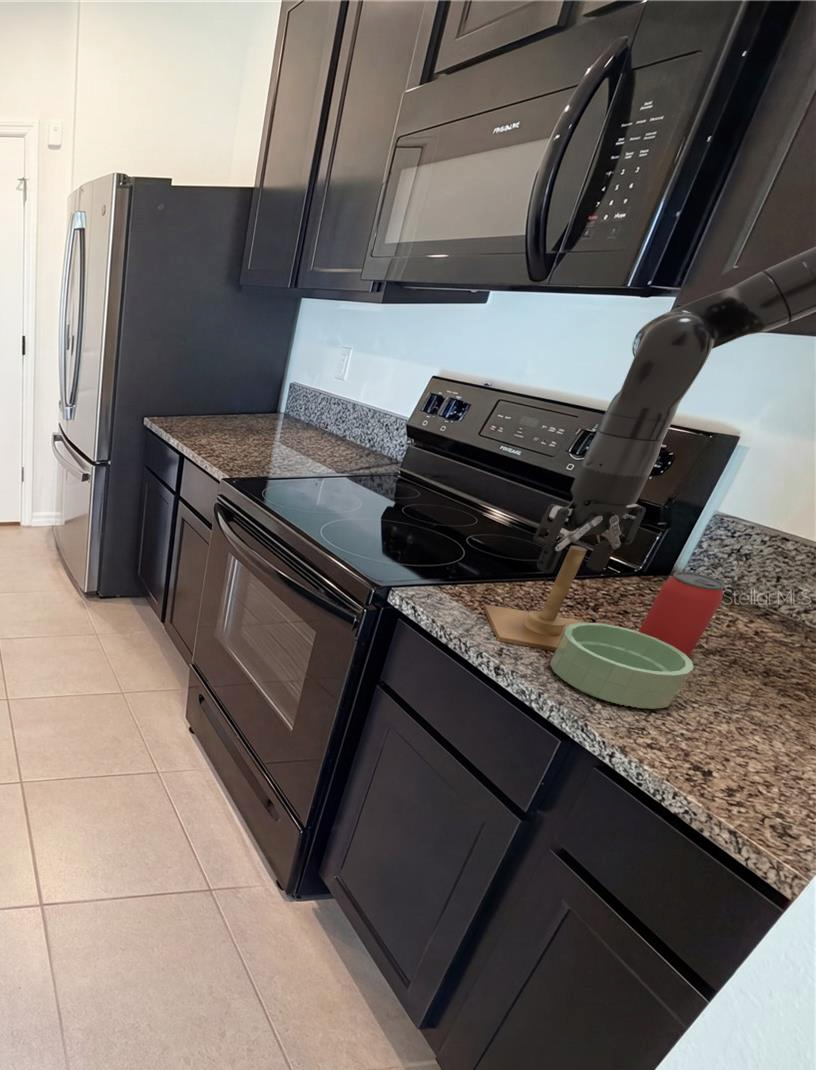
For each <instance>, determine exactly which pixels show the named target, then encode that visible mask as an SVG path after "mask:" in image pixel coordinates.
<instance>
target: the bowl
mask: <svg viewBox="0 0 816 1070" xmlns="http://www.w3.org/2000/svg"><path fill="white" fill-rule="evenodd" d="M638 631H639V630H638ZM638 631H637V630H634V629H630V628H626V627H622V626H619V625H613V624H606V623H600V622H588V621H587V622H585V621H584V622H583V623H575V624H571V625H569V626H567V627H566V628H565V630H564V632H563V634H562V636H561V639H560V641H559V643H558V645H557V647H556V649H555V651H553V653H552V656H551V658H550V662H549V665H550V668H551V670H552V671H553V673H555V675H557V676H558V677H559V678H560V679H561V680H562V681H564V682H566V683H567V684H568V685H569V686H572V687H573V688H574V689H576V690H578V691H580V692H582V693H584V694H586V695H589V696H591V697H593V698H595V697H596V698H595V699H598V698H599V699H598V700H601V701H604V702H608V703H610V702H611V704H614V703H615V705H618V704H619V705H618V706H622V705H624V706H623V707H628V706H631V707H630V708H635V707H636V708H637V709H648V710H650V709H651V710H656V709H657V710H658V709H663V708H668V707H669V706H671V705H672V704H673V703H674V702H675V701H676V699H677V697H678V696H679V694H680V692H681V691H682V689H683V688H684V685H686V683H687V681H688V679H689V678H690V675H691V674H692V672H693V671H694V662H693V661H692V660H691V659H690V658H689V656H686V654H684V653H683V652H681V651H680V650H678V649H677V648H675V647H673V646H672V645H670V644H667V643H665V642H663V641H661V640H659V639H657V638H655V637H652V636H649V635H646V634H643V633H641V632H638Z"/></svg>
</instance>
